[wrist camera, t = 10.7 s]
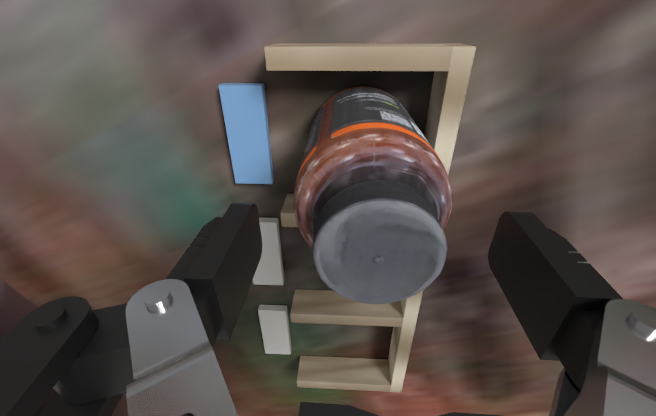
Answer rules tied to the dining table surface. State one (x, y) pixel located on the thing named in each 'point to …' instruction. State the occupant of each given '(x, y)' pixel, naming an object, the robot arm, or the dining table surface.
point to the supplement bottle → (372, 199)
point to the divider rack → (441, 134)
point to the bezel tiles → (256, 168)
